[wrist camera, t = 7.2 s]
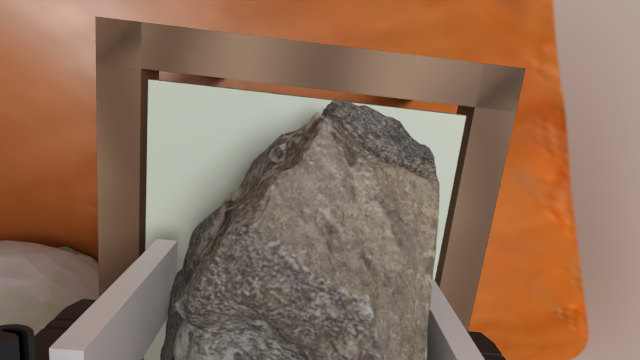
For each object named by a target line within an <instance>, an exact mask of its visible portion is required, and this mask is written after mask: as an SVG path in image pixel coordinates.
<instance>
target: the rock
mask: <svg viewBox="0 0 640 360" xmlns="http://www.w3.org/2000/svg"><path fill="white" fill-rule="evenodd" d="M439 190H440V184H439V181H438V177H437V175H436V165H435V159H434V155H433V153H432V152H431V150H430V147H429V148H428V147H427V146H426V145H423V144H420V143H418V142H417V141H416V140H414V139H413V138H412V137H411V136H410V134H409V133H408V132H407V131H406V129H405V128H404V126H403V125H402V123H401V122H400V121H398V120H396V119H395V118H392V117H388V116H385V115H383V114H381V113H380V112H378V111H376V110H374V109H372V108H370V107H368V106H366V105H362V106H358V105H355V104H353V103H352V102H344V101H343V100H335V99H334V100H333V101H332V102H331V103H330V104H328V105H327V106H326V108H324V110H323V112H322V114H320V113H319V112H316V113H315V114H314V115H313V116H312V117H311V119H310V121H309V123H308V124H306V125H304V126H303V127H301V128H300V129H298V130H297V131H293V132H289V133H285V134H282V135H281V136H280V137H278V138H277V139H276V140H275V141H274V142H273V143H272V144H271V145H270V146H268V148H267V149H266V150H265V151H263V152H262V153H261V154H260V155H259V156H258V157H257V158H255V159H254V160H253V162H252V164H251V166H250V168H249V169H248V171H247V172H246V175H245V177H244V179H243V181H242V183H241V184H240V186H239V188H238V189H236V190H235V191H234V192H232V193H231V195H230V196H229V197H228V198H227V199H226V200H225V201H224V203H223V204H222V206H221V207H219V208H218V209H217V210H215V211H214V212H212V213H211V214H210V215H209V216H208V217H207V218H206V219H204V220H203V221H202V222H200V223H199V224H198V226H197V227H196V228H195V229H194V230H193V232H192V235H191V238H190V241H189V247H188V250H187V252H186V255H185V258H184V262H183V267H182V269H180V270H179V272H178V273H177V275H176V277H175V280H174V283H173V286H172V290H171V294H170V302H169V307H168V318H167V323H166V333H165V341H164V344H163V346H162V349H161V353H160V360H427V328H428V315H429V310H430V305H431V291H432V279H433V270H434V263H435V256H436V243H437V231H438V221H439Z"/></svg>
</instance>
